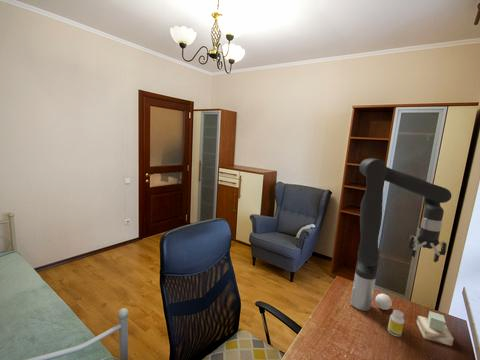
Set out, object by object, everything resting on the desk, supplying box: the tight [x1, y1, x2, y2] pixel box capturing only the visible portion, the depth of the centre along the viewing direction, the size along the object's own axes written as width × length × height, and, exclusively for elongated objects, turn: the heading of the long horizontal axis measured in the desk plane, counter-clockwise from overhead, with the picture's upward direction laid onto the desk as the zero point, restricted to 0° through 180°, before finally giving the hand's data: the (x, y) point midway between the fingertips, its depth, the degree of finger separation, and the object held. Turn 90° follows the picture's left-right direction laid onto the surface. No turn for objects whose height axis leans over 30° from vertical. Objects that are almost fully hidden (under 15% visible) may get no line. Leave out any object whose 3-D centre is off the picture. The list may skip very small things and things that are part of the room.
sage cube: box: [427, 310, 447, 332], centre depth 109 cm, size 5×5×5 cm
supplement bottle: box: [387, 309, 405, 337], centre depth 108 cm, size 5×5×10 cm
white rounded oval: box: [374, 293, 393, 311], centre depth 123 cm, size 10×7×7 cm
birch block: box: [416, 315, 455, 347], centre depth 110 cm, size 10×10×4 cm
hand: (423, 259), depth 119 cm, fingers open, 8 cm apart
